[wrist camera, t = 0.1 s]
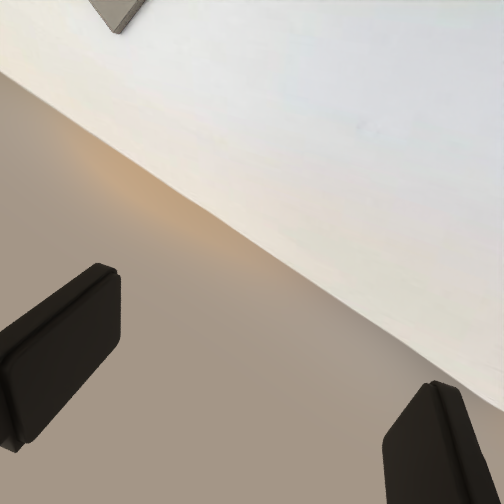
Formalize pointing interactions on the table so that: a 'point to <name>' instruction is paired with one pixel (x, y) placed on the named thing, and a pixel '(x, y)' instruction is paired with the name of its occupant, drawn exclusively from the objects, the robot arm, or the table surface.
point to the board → (116, 12)
